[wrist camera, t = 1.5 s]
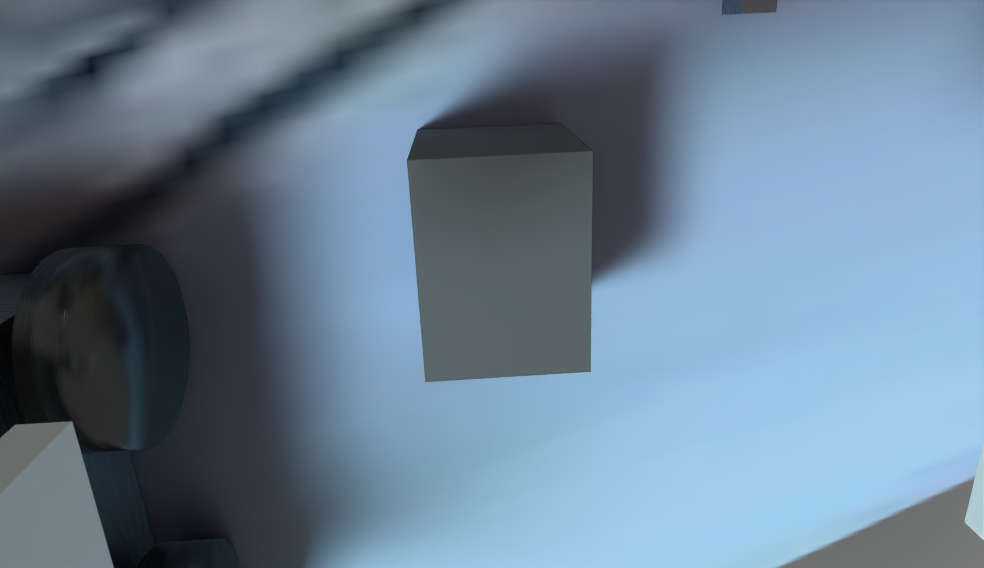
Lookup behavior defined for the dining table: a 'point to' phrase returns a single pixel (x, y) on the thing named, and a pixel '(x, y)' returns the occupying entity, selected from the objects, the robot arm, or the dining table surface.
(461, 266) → the grey rectangular block
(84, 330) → the trolley
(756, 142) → the dining table surface
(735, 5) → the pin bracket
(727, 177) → the dining table surface
